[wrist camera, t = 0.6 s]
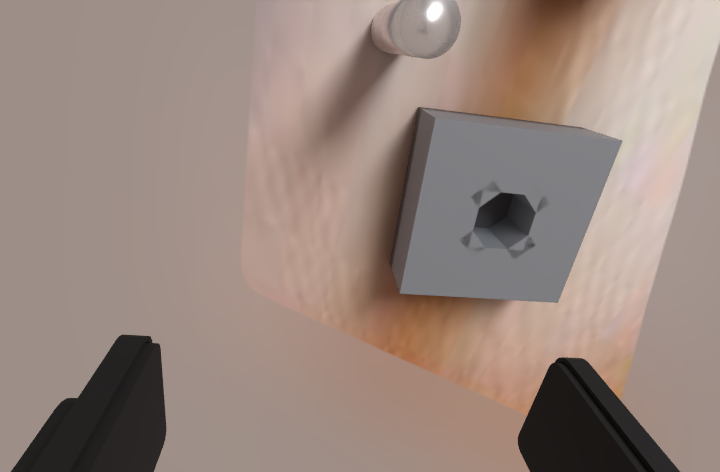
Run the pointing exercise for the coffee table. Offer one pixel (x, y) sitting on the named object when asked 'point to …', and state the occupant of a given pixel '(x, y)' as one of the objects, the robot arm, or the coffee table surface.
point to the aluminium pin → (417, 27)
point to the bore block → (496, 205)
